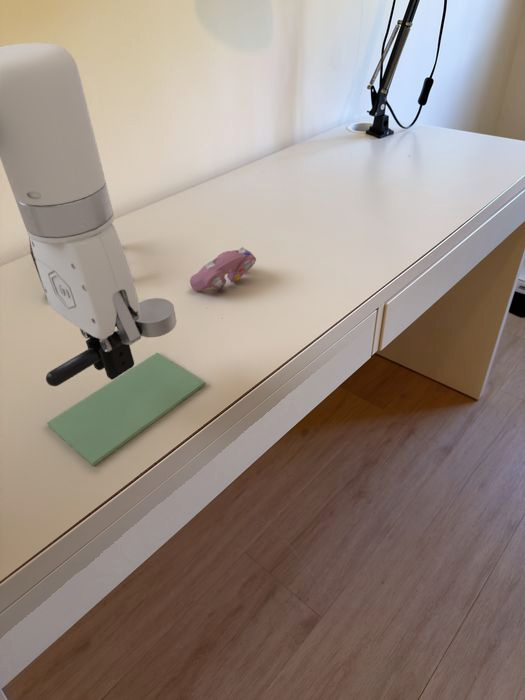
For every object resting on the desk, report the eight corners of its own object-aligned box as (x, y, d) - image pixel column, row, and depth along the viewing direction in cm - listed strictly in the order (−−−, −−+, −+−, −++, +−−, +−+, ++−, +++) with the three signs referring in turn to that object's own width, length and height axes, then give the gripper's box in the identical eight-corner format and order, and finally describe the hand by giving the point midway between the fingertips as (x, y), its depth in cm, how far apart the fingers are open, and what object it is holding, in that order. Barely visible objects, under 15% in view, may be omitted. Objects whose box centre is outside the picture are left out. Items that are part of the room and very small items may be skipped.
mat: (93, 466, 55) (92, 463, 54) (47, 425, 59) (46, 422, 59) (205, 385, 64) (204, 381, 63) (157, 355, 68) (157, 352, 68)
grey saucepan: (63, 399, 51) (56, 384, 49) (37, 378, 53) (30, 363, 52) (185, 322, 60) (182, 307, 58) (158, 307, 62) (155, 293, 61)
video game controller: (203, 306, 79) (211, 278, 74) (186, 285, 81) (192, 255, 75) (253, 282, 84) (264, 254, 78) (236, 261, 85) (246, 232, 80)
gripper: (-16, 201, 48) (46, 356, 60) (80, 251, 39) (131, 420, 51) (56, 175, 52) (102, 325, 64) (157, 216, 44) (188, 379, 55)
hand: (114, 366), depth 57 cm, fingers closed on grey saucepan, 1 cm apart
